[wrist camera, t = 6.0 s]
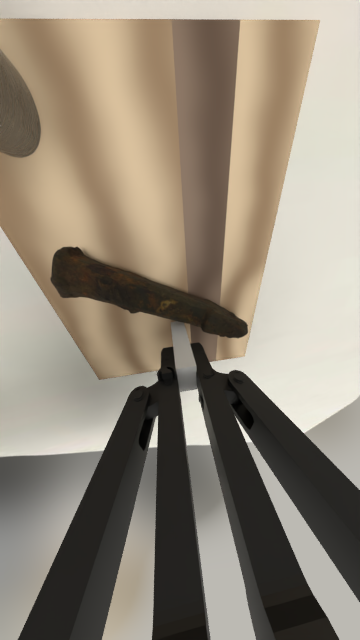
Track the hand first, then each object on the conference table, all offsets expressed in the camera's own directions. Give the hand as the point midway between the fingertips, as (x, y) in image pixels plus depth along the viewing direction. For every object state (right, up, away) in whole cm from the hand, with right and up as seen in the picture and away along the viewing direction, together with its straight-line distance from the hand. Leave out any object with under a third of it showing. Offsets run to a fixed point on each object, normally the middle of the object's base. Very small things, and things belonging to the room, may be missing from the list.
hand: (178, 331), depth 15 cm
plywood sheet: (-2, +6, -1) cm, 6 cm away
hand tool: (-1, +5, 0) cm, 5 cm away
